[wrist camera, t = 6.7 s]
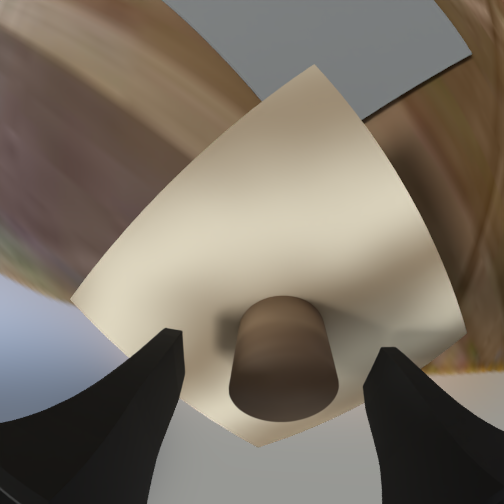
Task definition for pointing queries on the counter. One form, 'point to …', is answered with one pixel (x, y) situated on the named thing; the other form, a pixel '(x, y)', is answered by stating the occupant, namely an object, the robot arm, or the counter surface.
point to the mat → (330, 43)
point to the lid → (279, 268)
